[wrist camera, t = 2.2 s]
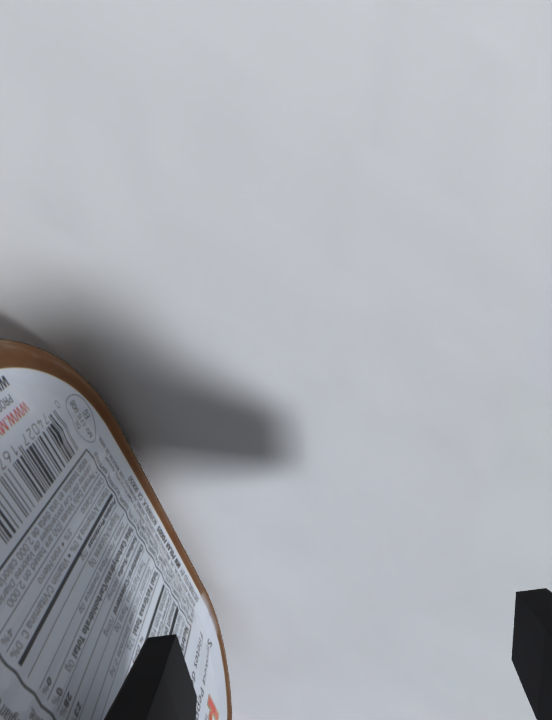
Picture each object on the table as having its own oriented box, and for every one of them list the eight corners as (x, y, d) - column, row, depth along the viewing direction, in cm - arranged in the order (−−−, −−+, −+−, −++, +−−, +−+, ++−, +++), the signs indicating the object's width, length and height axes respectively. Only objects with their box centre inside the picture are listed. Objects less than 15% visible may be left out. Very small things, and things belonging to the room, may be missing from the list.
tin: (-31, 313, 12) (-615, 572, 5) (68, 279, 12) (-419, 513, 4) (185, 666, 18) (82, 1054, 10) (261, 656, 17) (213, 1064, 9)
